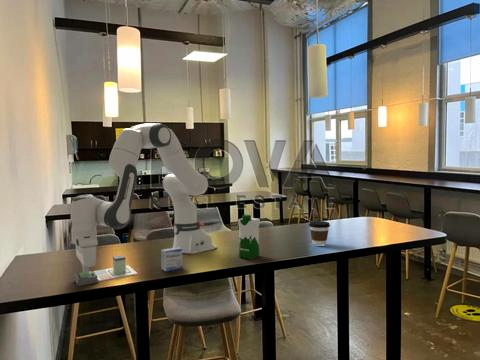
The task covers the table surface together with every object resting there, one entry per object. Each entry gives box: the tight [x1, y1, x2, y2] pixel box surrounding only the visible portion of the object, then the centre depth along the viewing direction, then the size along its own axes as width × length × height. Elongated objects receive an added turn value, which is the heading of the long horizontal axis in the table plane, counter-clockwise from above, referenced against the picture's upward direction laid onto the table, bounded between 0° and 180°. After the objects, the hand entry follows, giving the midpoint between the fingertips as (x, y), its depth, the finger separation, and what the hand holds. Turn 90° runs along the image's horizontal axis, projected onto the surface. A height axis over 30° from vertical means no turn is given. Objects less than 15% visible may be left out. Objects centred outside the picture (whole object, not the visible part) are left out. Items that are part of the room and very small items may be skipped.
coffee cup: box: [308, 220, 331, 245], centre depth 193 cm, size 11×11×12 cm
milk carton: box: [237, 214, 261, 260], centre depth 173 cm, size 9×9×20 cm
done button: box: [79, 270, 92, 278], centre depth 143 cm, size 4×4×3 cm
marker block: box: [112, 254, 127, 273], centre depth 153 cm, size 4×4×6 cm
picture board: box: [93, 264, 138, 283], centre depth 152 cm, size 15×13×1 cm
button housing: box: [74, 270, 99, 287], centre depth 143 cm, size 7×7×2 cm
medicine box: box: [160, 247, 183, 272], centre depth 157 cm, size 8×4×9 cm, turn 126°
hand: (85, 272), depth 143 cm, fingers closed, pressing on done button
